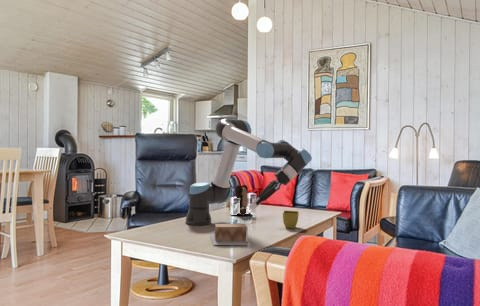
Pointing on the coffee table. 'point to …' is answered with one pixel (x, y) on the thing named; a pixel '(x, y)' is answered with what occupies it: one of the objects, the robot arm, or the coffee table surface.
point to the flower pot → (290, 218)
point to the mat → (226, 242)
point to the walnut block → (231, 232)
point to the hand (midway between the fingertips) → (250, 208)
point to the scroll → (243, 192)
